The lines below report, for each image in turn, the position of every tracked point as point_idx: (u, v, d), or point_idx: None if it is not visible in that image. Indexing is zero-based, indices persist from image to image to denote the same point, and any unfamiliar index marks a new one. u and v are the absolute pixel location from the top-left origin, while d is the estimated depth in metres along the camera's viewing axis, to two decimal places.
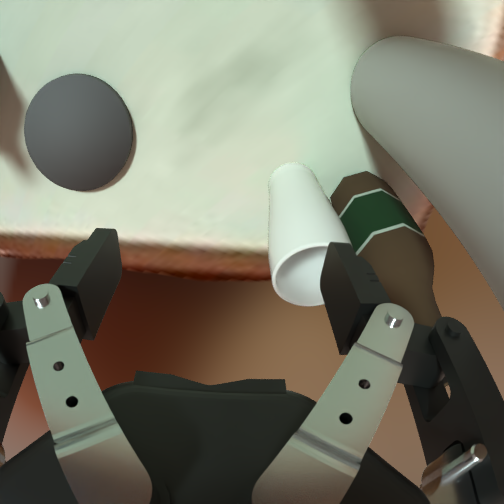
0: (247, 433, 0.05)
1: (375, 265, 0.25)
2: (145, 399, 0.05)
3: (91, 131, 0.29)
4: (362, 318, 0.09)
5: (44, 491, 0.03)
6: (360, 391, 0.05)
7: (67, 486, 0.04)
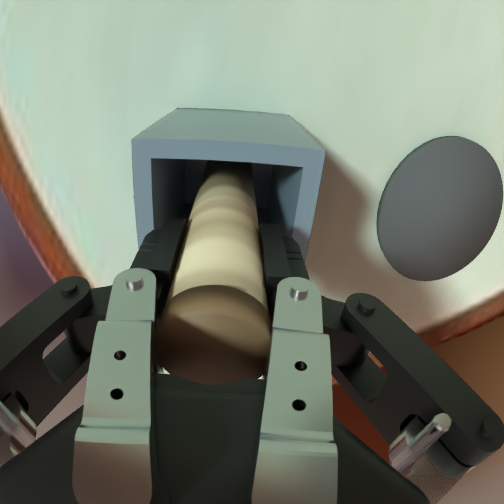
0: (247, 433, 0.05)
1: None
2: None
3: (470, 203, 0.23)
4: (273, 291, 0.10)
5: (44, 491, 0.03)
6: (300, 373, 0.06)
7: (67, 486, 0.04)
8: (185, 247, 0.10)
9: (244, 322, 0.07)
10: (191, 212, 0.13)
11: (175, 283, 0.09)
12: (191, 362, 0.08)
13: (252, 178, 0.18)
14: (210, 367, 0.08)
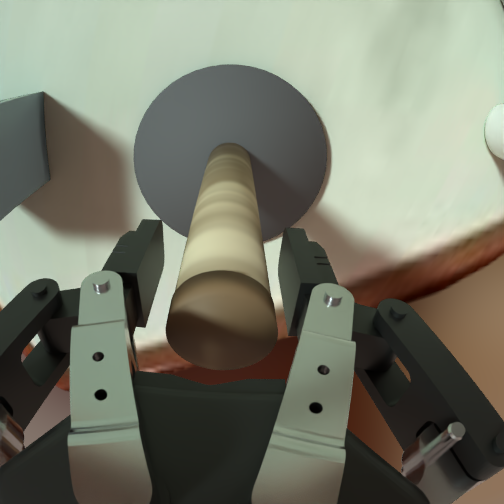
0: (247, 433, 0.05)
1: None
2: (145, 399, 0.05)
3: (260, 143, 0.21)
4: (304, 298, 0.09)
5: (44, 491, 0.03)
6: (321, 377, 0.06)
7: (67, 486, 0.04)
8: (192, 238, 0.11)
9: (250, 303, 0.08)
10: (195, 206, 0.14)
11: (184, 270, 0.10)
12: (200, 343, 0.09)
13: (252, 175, 0.19)
14: (218, 348, 0.09)
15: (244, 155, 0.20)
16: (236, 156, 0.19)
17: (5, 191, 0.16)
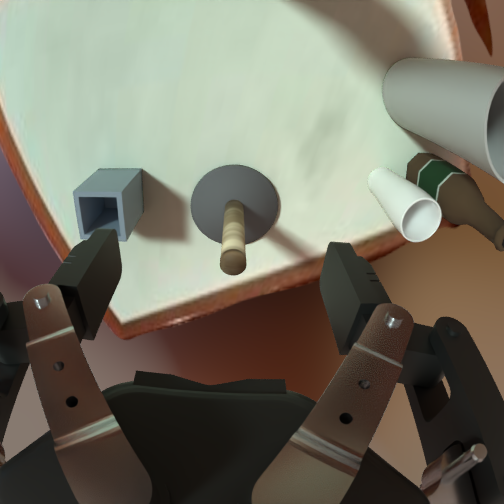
0: (247, 433, 0.05)
1: (447, 202, 0.38)
2: (145, 399, 0.05)
3: (247, 200, 0.51)
4: (361, 318, 0.09)
5: (44, 491, 0.03)
6: (360, 391, 0.05)
7: (67, 486, 0.04)
8: (224, 241, 0.40)
9: (239, 255, 0.37)
10: (223, 231, 0.43)
11: (223, 249, 0.39)
12: (228, 266, 0.38)
13: (243, 216, 0.48)
14: (232, 268, 0.38)
15: (240, 207, 0.49)
16: (237, 208, 0.48)
17: (132, 219, 0.46)
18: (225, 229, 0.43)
